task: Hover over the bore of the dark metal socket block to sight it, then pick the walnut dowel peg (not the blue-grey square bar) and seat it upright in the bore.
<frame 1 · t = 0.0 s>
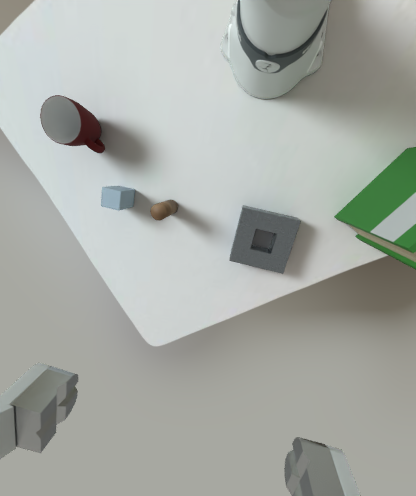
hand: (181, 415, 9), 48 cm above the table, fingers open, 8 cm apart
mug: (97, 134, 53), on the table
socket: (262, 237, 55), on the table
round peg: (171, 206, 56), on the table
square peg: (126, 196, 56), on the table
hardback book: (380, 196, 49), on the table
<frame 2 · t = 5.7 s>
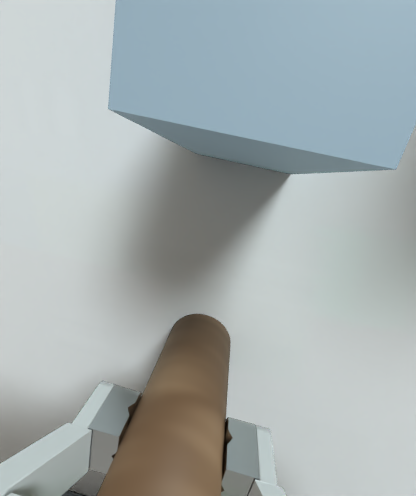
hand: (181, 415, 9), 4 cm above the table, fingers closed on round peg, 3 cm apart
round peg: (199, 340, 13), on the table, touching gripper
square peg: (255, 110, 9), on the table
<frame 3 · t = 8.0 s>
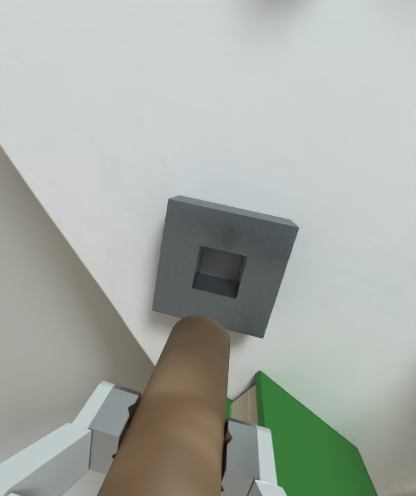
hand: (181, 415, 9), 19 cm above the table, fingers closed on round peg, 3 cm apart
socket: (221, 259, 27), on the table
round peg: (199, 342, 13), point 15 cm above the table, touching gripper
hardback book: (289, 422, 33), on the table
when the fingers open (6 cm above the table, at t = 10.5 s): round peg drops 2 cm, resting in socket.
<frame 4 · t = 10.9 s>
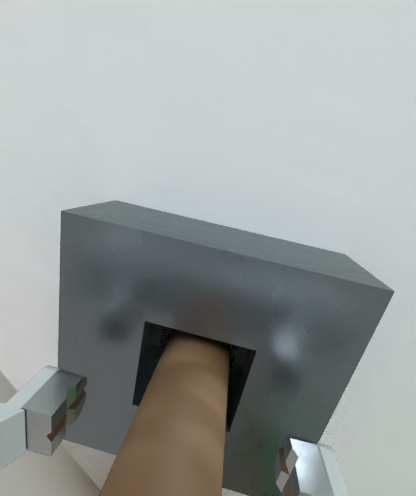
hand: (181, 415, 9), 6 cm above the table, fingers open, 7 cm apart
socket: (203, 324, 14), on the table
round peg: (204, 326, 14), resting in socket
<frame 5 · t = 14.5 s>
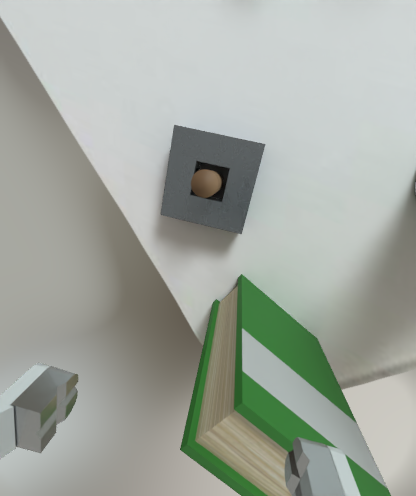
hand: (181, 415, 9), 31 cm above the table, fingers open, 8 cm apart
socket: (212, 181, 36), on the table
round peg: (213, 181, 36), resting in socket
hardback book: (264, 320, 42), on the table
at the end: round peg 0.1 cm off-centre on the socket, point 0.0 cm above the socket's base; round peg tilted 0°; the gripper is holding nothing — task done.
